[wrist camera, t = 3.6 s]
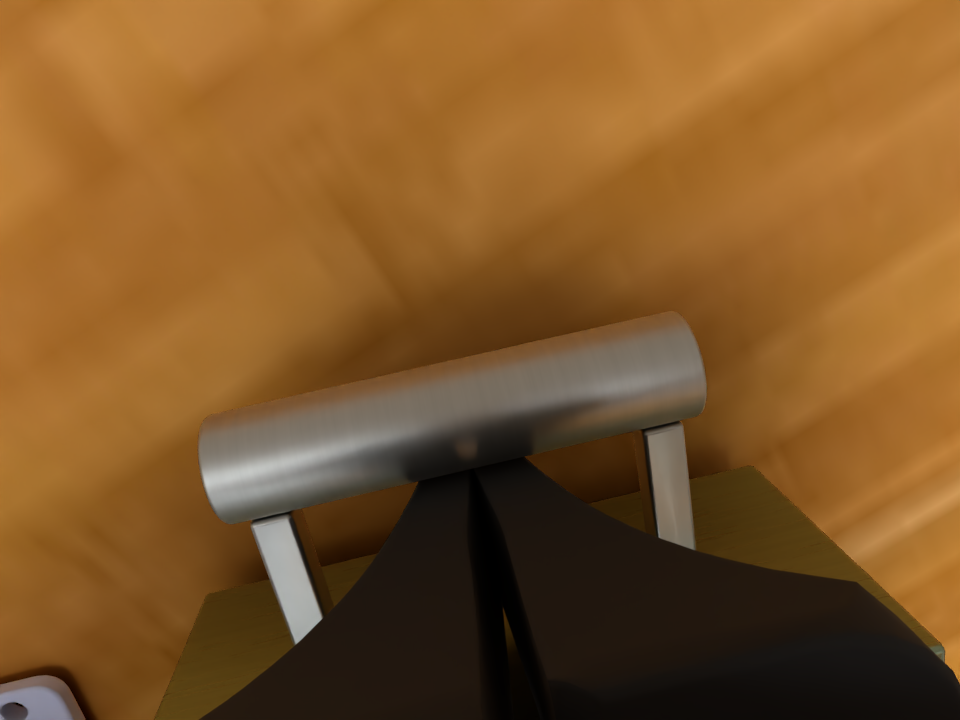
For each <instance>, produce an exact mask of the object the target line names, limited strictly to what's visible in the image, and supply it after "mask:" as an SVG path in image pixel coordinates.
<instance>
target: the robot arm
mask: <svg viewBox="0 0 960 720" xmlns="http://www.w3.org/2000/svg"><path fill="white" fill-rule="evenodd" d="M503 608H504V611H505V614H506V617H507V620H508V623H509V626H510V629H511V632H512V635H513V638H514V641H515V644H516V647H517V650H518V653H519V656H520V659H521V662H522V665H523V668H524V671H525V674H526V677H527V680H528V683H529V686H530V689H531V692H532V695H533V698H534V701H535V704H536V707H537V710H538V713H539V716H540V719H541V720H960V684H959V682H958V680H957V678H956V676H955V674H954V672H953V671H952V670H951V669H950V668H949V667H948V666H947V665H946V664H945V663H944V662H943V661H942V660H941V659H940V658H939V657H938V656H937V655H936V654H935V653H934V652H933V651H932V650H931V649H930V648H929V647H928V646H927V645H926V644H925V643H924V642H923V641H922V640H921V639H920V638H919V637H918V636H917V635H916V634H915V633H914V632H913V631H912V630H911V629H910V628H909V627H908V626H907V625H906V624H905V623H904V622H903V621H902V620H901V619H900V618H899V617H898V616H896V615H895V614H894V613H893V612H892V611H891V610H889V609H888V608H887V607H886V606H885V605H883V604H882V603H881V602H880V601H879V600H878V599H876V598H875V597H874V596H873V595H872V594H870V593H869V592H868V591H867V590H866V589H864V588H863V587H862V586H861V585H860V584H859V583H857V582H854V581H848V580H841V579H834V578H827V577H821V576H814V575H807V574H800V573H794V572H787V571H780V570H774V569H769V568H764V567H759V566H755V565H751V564H746V563H742V562H738V561H733V560H729V559H725V558H721V557H717V556H714V555H710V554H707V553H703V552H700V551H696V550H693V549H690V548H687V547H684V546H681V545H678V544H675V543H672V542H670V541H667V540H664V539H661V538H658V537H655V536H653V535H650V534H648V533H645V532H643V531H640V530H638V529H636V528H634V527H632V526H629V525H627V524H625V523H623V522H621V521H619V520H617V519H615V518H612V517H610V516H608V515H606V514H604V513H603V512H601V511H599V510H597V509H595V508H593V507H592V506H590V505H589V504H587V503H585V502H584V501H582V500H580V499H579V498H577V497H576V496H574V495H573V494H571V493H570V492H568V491H567V490H566V489H564V488H563V487H562V486H560V485H559V484H557V483H556V482H555V481H553V480H552V479H551V478H549V477H548V476H547V475H545V474H544V473H543V472H542V471H540V470H539V469H538V468H537V467H536V466H534V465H533V464H532V463H531V462H530V461H529V460H527V459H526V458H525V457H520V458H516V459H512V460H507V461H503V462H499V463H494V464H490V465H486V466H481V467H477V468H473V469H469V470H464V471H460V472H456V473H451V474H447V475H443V476H438V477H434V478H430V479H426V480H421V481H419V482H418V484H417V486H416V488H415V490H414V492H413V494H412V496H411V498H410V500H409V502H408V504H407V506H406V508H405V509H404V511H403V513H402V515H401V517H400V519H399V521H398V522H397V524H396V526H395V527H394V529H393V531H392V532H391V534H390V535H389V537H388V538H387V540H386V542H385V543H384V545H383V546H382V548H381V549H380V551H379V552H378V554H377V555H376V557H375V558H374V560H373V561H372V563H371V564H370V565H369V567H368V568H367V570H366V571H365V572H364V574H363V575H362V576H361V577H360V578H359V580H358V581H357V582H356V583H355V584H354V586H353V587H352V588H351V589H350V590H349V591H348V593H347V594H346V595H345V596H344V597H343V598H342V599H341V600H340V602H339V603H338V604H337V605H336V606H335V607H334V608H333V609H332V610H331V611H330V612H329V613H328V614H327V615H326V616H325V617H324V618H323V619H322V620H321V621H320V622H319V623H317V624H316V625H315V626H314V627H313V628H312V629H311V630H310V631H309V632H308V633H307V634H306V635H305V636H304V637H303V638H302V639H301V640H300V641H299V642H298V643H297V644H296V645H295V646H294V647H293V648H291V649H290V650H289V651H288V652H287V653H286V654H284V655H283V656H282V657H281V658H280V659H279V660H277V661H276V662H275V663H274V664H273V665H272V666H270V667H269V668H268V669H267V670H265V671H264V672H263V673H262V674H260V675H259V676H258V677H257V678H255V679H254V680H253V681H251V682H250V683H249V684H248V685H246V686H245V687H244V688H243V689H241V690H240V691H239V692H237V693H236V694H235V695H233V696H232V697H231V698H229V699H228V700H227V701H225V702H224V703H222V704H221V705H219V706H218V707H216V708H215V709H213V710H212V711H211V712H209V713H208V714H206V715H205V716H203V717H202V718H200V719H199V720H514V713H513V703H512V693H511V683H510V673H509V663H508V653H507V644H506V634H505V624H504V615H503ZM14 702H16V703H19V704H22V705H23V706H24V707H21V706H18V705H16V704H15V703H14ZM0 720H86V719H85V717H84V715H83V713H82V711H81V709H80V707H79V706H78V704H77V702H76V700H75V698H74V696H73V694H72V692H71V690H70V688H69V687H68V686H67V685H66V683H65V682H64V681H62V680H61V679H59V678H57V677H54V676H49V675H41V676H34V677H30V678H25V679H21V680H17V681H13V682H9V683H5V684H0Z"/></svg>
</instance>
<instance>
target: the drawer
mask: <svg viewBox="0 0 960 720" xmlns="http://www.w3.org/2000/svg"><path fill="white" fill-rule="evenodd" d="M706 399H707V382H706V373H705V367H704V362H703V358H702V355H701V351H700V348H699V345H698V343H697V340H696V338H695V336H694V333H693V331H692V329H691V327H690V326H689V324H688V323H687V321H686V320H685V319H684V317H683V316H682V315H680V314H679V313H677V312H674V311H667V312H663V313H658V314H654V315H649V316H645V317H641V318H636V319H632V320H627V321H623V322H618V323H614V324H610V325H605V326H601V327H596V328H592V329H587V330H583V331H578V332H574V333H570V334H565V335H561V336H556V337H552V338H547V339H543V340H539V341H534V342H530V343H525V344H521V345H516V346H512V347H508V348H503V349H499V350H494V351H490V352H485V353H481V354H476V355H472V356H468V357H463V358H459V359H454V360H450V361H445V362H441V363H437V364H432V365H428V366H423V367H419V368H414V369H410V370H405V371H401V372H397V373H392V374H388V375H383V376H379V377H374V378H370V379H366V380H361V381H357V382H352V383H348V384H343V385H339V386H335V387H330V388H326V389H321V390H317V391H312V392H308V393H303V394H299V395H295V396H290V397H286V398H281V399H277V400H272V401H268V402H264V403H259V404H255V405H250V406H246V407H241V408H237V409H232V410H228V411H224V412H219V413H215V414H211V415H209V416H208V417H206V418H205V419H204V420H203V422H202V424H201V427H200V430H199V435H198V463H199V470H200V475H201V480H202V484H203V487H204V490H205V493H206V496H207V499H208V501H209V503H210V505H211V507H212V509H213V511H214V512H215V514H216V515H217V516H218V518H219V519H220V520H222V521H223V522H225V523H227V524H236V523H241V522H245V521H249V520H252V521H251V524H250V528H251V530H252V533H253V536H254V538H255V541H256V544H257V547H258V549H259V552H260V555H261V558H262V560H263V563H264V566H265V569H266V571H267V574H268V577H269V579H267V580H263V581H259V582H255V583H250V584H246V585H242V586H238V587H233V588H229V589H225V590H221V591H217V592H212V593H209V594H208V595H206V597H205V599H204V602H203V604H202V606H201V609H200V611H199V614H198V616H197V618H196V621H195V623H194V626H193V628H192V630H191V633H190V635H189V637H188V640H187V642H186V645H185V647H184V649H183V652H182V654H181V657H180V659H179V661H178V664H177V666H176V669H175V671H174V673H173V676H172V678H171V681H170V683H169V685H168V688H167V690H166V692H165V695H164V697H163V700H162V702H161V704H160V707H159V709H158V712H157V714H156V716H155V719H154V720H199V719H200V718H202V717H203V716H205V715H206V714H208V713H209V712H211V711H212V710H213V709H215V708H216V707H218V706H219V705H221V704H222V703H224V702H225V701H227V700H228V699H229V698H231V697H232V696H233V695H235V694H236V693H237V692H239V691H240V690H241V689H243V688H244V687H245V686H246V685H248V684H249V683H250V682H251V681H253V680H254V679H255V678H257V677H258V676H259V675H260V674H262V673H263V672H264V671H265V670H267V669H268V668H269V667H270V666H272V665H273V664H274V663H275V662H276V661H277V660H279V659H280V658H281V657H282V656H283V655H284V654H286V653H287V652H288V651H289V650H290V649H291V648H293V647H294V646H295V645H296V644H297V643H298V642H299V641H300V640H301V639H302V638H303V637H304V636H305V635H306V634H307V633H308V632H309V631H310V630H311V629H312V628H313V627H314V626H315V625H316V624H317V623H319V622H320V621H321V620H322V619H323V618H324V617H325V616H326V615H327V614H328V613H329V612H330V611H331V610H332V609H333V608H334V607H335V606H336V605H337V604H338V603H339V602H340V600H341V599H342V598H343V597H344V596H345V595H346V594H347V593H348V591H349V590H350V589H351V588H352V587H353V586H354V584H355V583H356V582H357V581H358V580H359V578H360V577H361V576H362V575H363V574H364V572H365V571H366V570H367V568H368V567H369V565H370V564H371V563H372V561H373V560H374V558H375V557H376V555H377V554H378V553H377V554H373V555H369V556H365V557H360V558H356V559H352V560H348V561H343V562H339V563H335V564H331V565H327V566H322V567H321V566H320V563H319V560H318V557H317V554H316V551H315V548H314V545H313V542H312V539H311V536H310V533H309V530H308V527H307V524H306V521H305V518H304V515H303V512H302V509H301V508H305V507H309V506H314V505H318V504H322V503H327V502H331V501H335V500H340V499H344V498H348V497H352V496H357V495H361V494H365V493H370V492H374V491H378V490H383V489H387V488H391V487H395V486H400V485H404V484H408V483H413V482H417V481H421V480H426V479H430V478H434V477H438V476H443V475H447V474H451V473H456V472H460V471H464V470H469V469H473V468H477V467H481V466H486V465H490V464H494V463H499V462H503V461H507V460H512V459H516V458H520V457H524V456H529V455H533V454H537V453H542V452H546V451H550V450H555V449H559V448H563V447H567V446H572V445H576V444H580V443H585V442H589V441H593V440H598V439H602V438H606V437H610V436H615V435H619V434H623V433H628V432H632V433H633V440H634V448H635V455H636V463H637V470H638V478H639V485H640V492H635V493H631V494H627V495H623V496H618V497H614V498H610V499H606V500H602V501H597V502H593V503H589V505H590V506H592V507H593V508H595V509H597V510H599V511H601V512H603V513H604V514H606V515H608V516H610V517H612V518H615V519H617V520H619V521H621V522H623V523H625V524H627V525H629V526H632V527H634V528H636V529H638V530H640V531H643V532H645V533H648V534H650V535H653V536H655V537H658V538H661V539H664V540H667V541H670V542H672V543H675V544H678V545H681V546H684V547H687V548H690V549H693V550H696V551H700V552H703V553H707V554H710V555H714V556H717V557H721V558H725V559H729V560H733V561H738V562H742V563H746V564H751V565H755V566H759V567H764V568H769V569H774V570H780V571H787V572H794V573H800V574H807V575H814V576H821V577H827V578H834V579H841V580H848V581H854V582H857V583H859V584H860V585H861V586H862V587H863V588H864V589H866V590H867V591H868V592H869V593H870V594H872V595H873V596H874V597H875V598H876V599H878V600H879V601H880V602H881V603H882V604H883V605H885V606H886V607H887V608H888V609H889V610H891V611H892V612H893V613H894V614H895V615H896V616H898V617H899V618H900V619H901V620H902V621H903V622H904V623H905V624H906V625H907V626H908V627H909V628H910V629H911V630H912V631H913V632H914V633H915V634H916V635H917V636H918V637H919V638H920V639H921V640H922V641H923V642H924V643H925V644H926V645H927V646H928V647H929V648H930V649H931V650H932V651H933V652H934V653H935V654H936V655H937V656H938V657H939V658H940V659H941V660H942V661H943V662H944V663H945V650H944V647H943V646H942V644H941V643H940V642H939V641H938V640H937V639H936V638H935V637H934V636H933V635H931V634H930V633H929V632H928V631H927V630H926V629H925V628H924V627H923V626H922V625H921V624H920V623H919V622H918V621H917V620H916V619H915V618H914V617H912V616H911V615H910V614H909V613H908V612H907V611H906V610H905V609H904V608H903V607H902V606H901V605H900V604H899V603H898V602H897V601H896V600H894V599H893V598H892V597H891V596H890V595H889V594H888V593H887V592H886V591H885V590H884V589H883V588H882V587H881V586H880V585H879V584H878V583H876V582H875V581H874V580H873V579H872V578H871V577H870V576H869V575H868V574H867V573H866V572H865V571H864V570H863V569H862V568H861V567H860V566H859V565H857V564H856V563H855V562H854V561H853V560H852V559H851V558H850V557H849V556H848V555H847V554H846V553H845V552H844V551H843V550H842V549H841V548H839V547H838V546H837V545H836V544H835V543H834V542H833V541H832V540H831V539H830V538H829V537H828V536H827V535H826V534H825V533H824V532H823V531H821V530H820V529H819V528H818V527H817V526H816V525H815V524H814V523H813V522H812V521H811V520H810V519H809V518H808V517H807V516H806V515H805V514H803V513H802V512H801V511H800V510H799V509H798V508H797V507H796V506H795V505H794V504H793V503H792V502H791V501H790V500H789V499H788V498H787V497H786V496H784V495H783V494H782V493H781V492H780V491H779V490H778V489H777V488H776V487H775V486H774V485H773V484H772V483H771V482H770V481H769V480H768V479H766V478H765V477H764V476H763V475H762V474H761V473H760V472H759V471H758V470H757V469H756V468H755V467H754V466H745V467H741V468H737V469H733V470H728V471H724V472H720V473H716V474H711V475H707V476H703V477H699V478H695V479H690V480H689V474H688V465H687V455H686V446H685V436H684V427H683V424H682V423H681V422H680V421H679V420H684V419H688V418H692V417H696V416H698V415H699V414H701V413H702V412H703V410H704V408H705V405H706ZM503 615H504V624H505V634H506V644H507V653H508V663H509V673H510V683H511V693H512V703H513V713H514V720H541V719H540V716H539V713H538V710H537V707H536V704H535V701H534V698H533V695H532V692H531V689H530V686H529V683H528V680H527V677H526V674H525V671H524V668H523V665H522V662H521V659H520V656H519V653H518V650H517V647H516V644H515V641H514V638H513V635H512V632H511V629H510V626H509V623H508V620H507V617H506V614H505V611H504V608H503Z"/></svg>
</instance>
